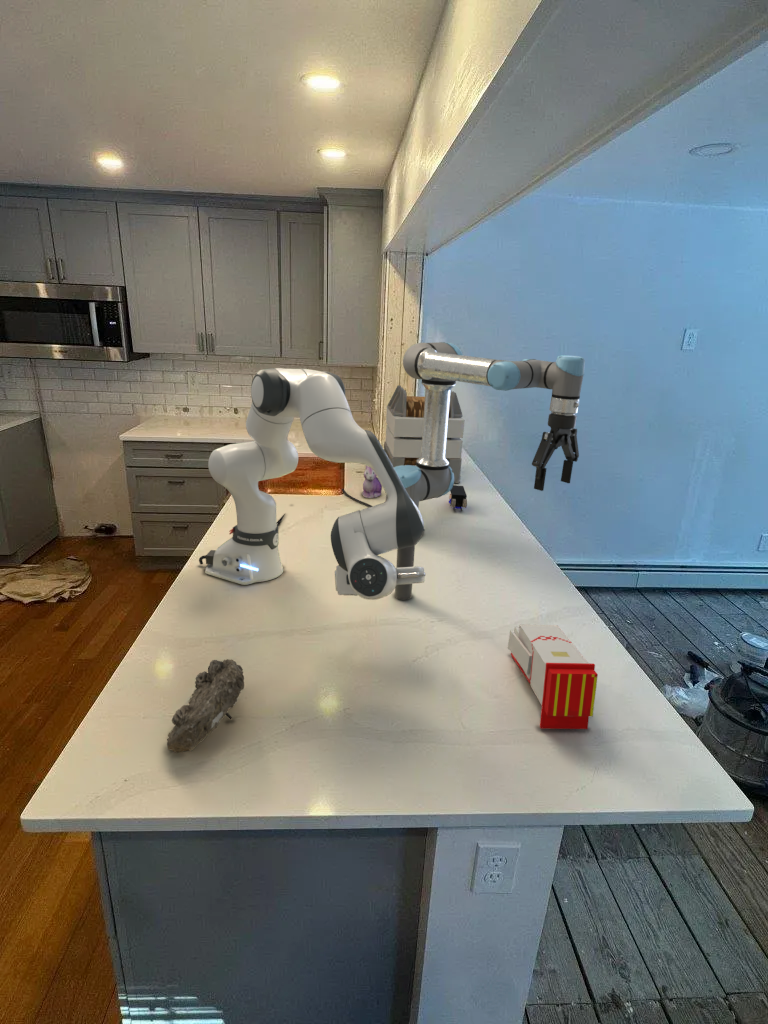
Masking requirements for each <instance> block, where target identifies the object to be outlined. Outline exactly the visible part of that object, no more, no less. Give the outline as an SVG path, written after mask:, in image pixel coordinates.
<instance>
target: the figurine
mask: <svg viewBox="0 0 768 1024" xmlns="http://www.w3.org/2000/svg"><path fill="white" fill-rule="evenodd" d="M363 477H364V481H363V482H362V493H361V494H362V496H363V498H366V499H373V498H378V497H380V496H381V495H382V491H383V487H382V485H381V483H380V482H379V480H378V478H377V476H376V474H375V472H374V471H373V469H371V468H370V467H368V466H366V465H365V470H364V472H363Z"/></svg>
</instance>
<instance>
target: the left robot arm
mask: <svg viewBox="0 0 768 1024" xmlns="http://www.w3.org/2000/svg"><path fill="white" fill-rule="evenodd" d="M344 384H345V383H344V382H343V380H342V378H341V377H340V376H339V375H338V374H335V373H333V372H331V371H327V370H323V371H320V370H315V369H311V368H300V367H299V368H284V367H283V368H282V367H270V368H269V367H268V368H263V369H260V370H258V371H257V372H256V374H255V375H254V376H253V378H252V381H251V386H250V397H251V404H250V408H249V411H248V414H247V417H246V420H245V428H246V432H247V434H248V436H249V437H250V438H251V439H252V441H245V442H238V443H230V444H227V445H224V446H221V447H218V448H216V449H215V448H214V450H212V452H210V455H209V458H208V462H207V466H208V471H209V474H210V476H211V478H212V479H213V481H215V482H216V483H217V484H218V485H220V486H221V487H223V488H225V489H226V490H227V491H228V492H229V494H230V496H231V497H232V499H233V501H234V505H235V515H236V525H234V526H233V527H232V528H231V529H230V530H229V531H228V532H229V534H228V535H232V537H230V538H229V539H228V540H226V541H225V542H224V543H222V544H220V545H219V546H218V547H217V548H216V550H214V549H211V550H209V552H207V553H206V554H205V555H202V556H200V557H199V558H198V562H199V565H204V562H203V560H205V564H206V567H205V571H204V572H205V574H206V575H209V576H213V577H216V578H218V579H222V580H225V581H227V582H228V581H229V582H231V583H235V584H238V585H242V586H247V585H251V584H255V583H260V582H261V583H262V582H268V581H271V580H274V579H277V578H278V577H280V576H281V575H282V574H283V573H284V567H283V564H282V561H281V557H280V550H279V544H280V543H279V541H280V538H279V537H280V534H279V533H280V532H279V526H278V525H277V524H278V523H277V522H278V519H277V503H276V500H275V499H274V497H273V496H272V495H270V494H269V493H267V492H266V491H262V490H260V489H259V482H261V481H267V480H271V479H273V480H274V479H278V478H282V477H285V476H286V475H289V474H291V473H294V472H295V471H296V469H297V467H298V464H299V452H298V450H297V447H296V446H295V445H294V443H293V442H291V441H290V440H289V434H290V431H291V430H290V429H291V428H292V425H293V422H294V419H296V418H297V419H298V418H299V421H300V425H301V429H302V433H303V436H304V439H305V441H306V444H307V446H308V448H309V450H310V451H311V452H312V453H313V454H314V455H315V456H317V458H319V459H321V460H324V461H326V462H327V461H328V462H331V463H336V464H337V463H339V464H341V463H342V464H358V465H363V466H365V467H366V466H368V467H370V468H371V469H373V471H374V472H375V474H376V477H377V478H378V480H379V482H380V483H381V485H382V490H383V492H384V494H385V496H386V495H387V497H388V499H387V500H386V499H385V501H384V502H381V503H378V504H375V505H371V506H372V507H369V506H368V507H366V508H363V509H358V510H355V511H352V512H349V513H346V514H343V515H340V516H338V517H337V518H336V520H335V521H334V523H333V525H332V528H331V531H330V545H331V548H332V552H333V555H334V557H335V560H336V562H337V565H336V567H335V570H334V585H335V591H336V592H337V595H338V596H355V597H357V596H358V597H359V598H361V599H364V600H367V601H368V600H370V601H371V600H372V601H376V600H379V599H383V598H385V597H388V596H389V595H390V594H392V593H393V592H394V591H395V587H396V585H401V584H412V585H413V584H414V585H415V584H424V583H425V582H426V575H427V573H426V572H425V567H424V566H415V565H414V566H413V567H400V568H396V565H394V564H393V562H392V561H390V560H389V559H388V558H386V557H383V556H381V555H382V554H386V553H389V552H391V551H395V550H397V549H402V548H406V547H411V546H415V547H416V545H417V544H418V542H419V541H420V540H421V538H422V537H423V535H424V533H425V531H426V529H425V521H424V517H423V515H422V512H421V511H420V509H419V508H418V507H417V506H416V504H415V503H414V502H413V501H412V499H411V498H410V497H409V495H408V493H407V491H406V490H405V488H404V486H403V484H402V482H401V480H400V478H399V476H398V474H397V473H396V471H395V469H394V467H393V465H392V463H391V461H390V460H389V458H388V456H387V454H386V453H385V451H384V446H383V445H382V444H381V442H380V441H379V438H377V436H376V434H374V433H373V431H371V430H368V429H364V428H363V427H361V426H360V425H359V424H358V423H357V421H355V419H354V416H353V414H352V410H351V407H350V404H349V402H348V399H347V397H346V388H345V385H344Z"/></svg>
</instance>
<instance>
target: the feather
mask: <svg viewBox="0 0 768 1024" xmlns="http://www.w3.org/2000/svg"><path fill="white" fill-rule="evenodd" d="M285 515H286V513H283V515H281V517H280V518H279V519H278V520H277V525H278V527H279V526H280V525H281V522H282V520H283V519H284V517H285Z"/></svg>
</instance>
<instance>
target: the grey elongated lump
mask: <svg viewBox="0 0 768 1024" xmlns="http://www.w3.org/2000/svg"><path fill="white" fill-rule="evenodd" d="M243 670H244V669H243V667H242V665H240V664H237V662H236V661H235V660H234V659H232V658H231V659H227V658H226V659H224V660H223V661H222V660H217V659H212V660H211V661H210V663H209V665H208V666H207V671H201V672H199V673H198V674H197V675H196V676H195V680H194V684H195V685H194V687H195V689H194V690H193V693H192V694H191V697H190V698H189V700H188V704H184V705H182V706H181V707H180V709H177V710H176V711H175V713H174V715H173V716H172V718H171V723H172V724H173V727H172V730H171V731H170V732H168V734H167V738H166V741H167V742H166V745H167V749H168V750H169V751H173V752H174V753H176V754H178V753H182V752H188V751H189V752H192V751H193V750H195V748H196V747H197V746H199V744H200V743H201V742H203V741H204V740H205V739H206V738H207V737H208V736H209V735H210V734H211V733H212V732H214V730H215V729H217V727H218V726H219V724H220V722H221V721H222V720H223V719H224V718H225V716H226V717H227V719H229V720H233V717H232V715H230V714H229V710H230V709H231V708H234V706H235V704H236V703H237V702H238V699H239V697H240V695H241V693H242V691H243V690H245V689H244V688H245V675H244V671H243Z"/></svg>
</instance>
